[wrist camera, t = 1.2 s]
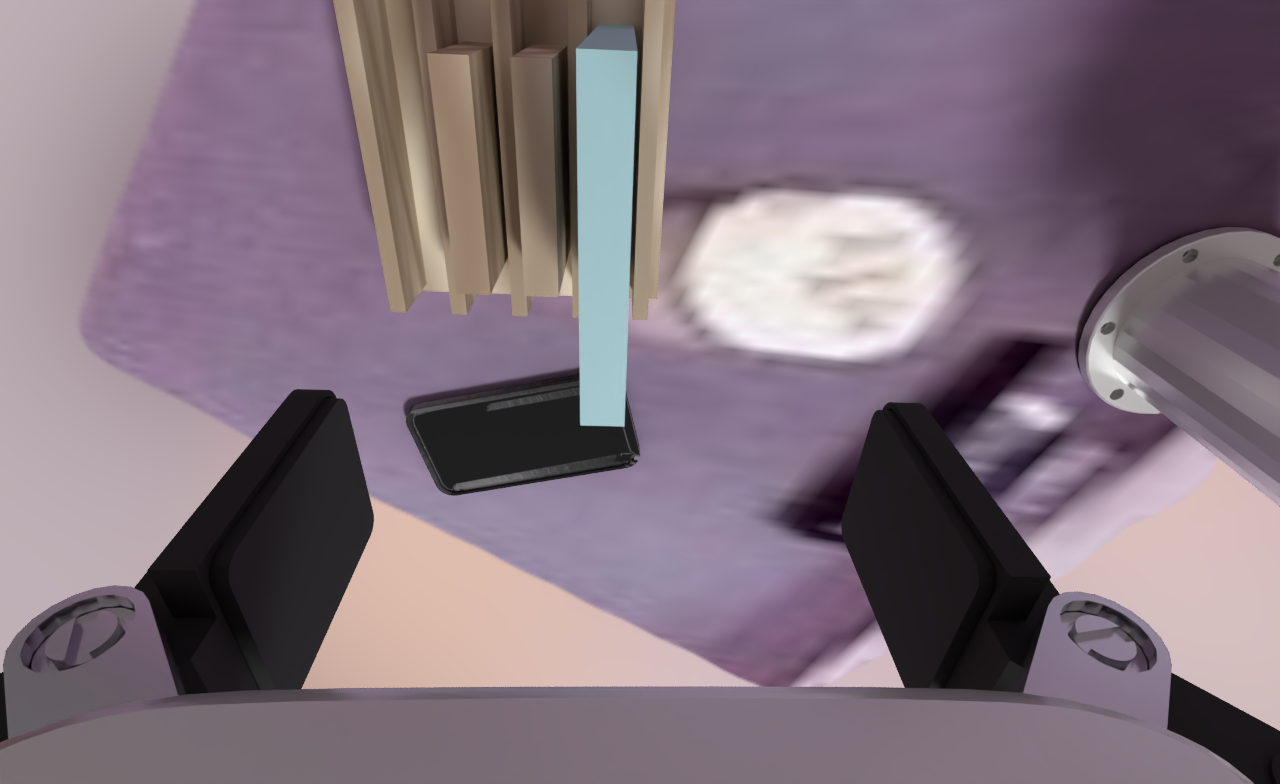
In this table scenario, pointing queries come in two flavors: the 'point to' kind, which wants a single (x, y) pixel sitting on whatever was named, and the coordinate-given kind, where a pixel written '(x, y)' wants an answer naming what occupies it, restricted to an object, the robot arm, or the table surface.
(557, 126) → the offcut
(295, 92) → the table surface
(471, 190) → the offcut
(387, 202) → the rack
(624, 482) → the table surface
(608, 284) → the tall sheet
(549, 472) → the phone
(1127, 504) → the table surface
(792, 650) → the table surface
